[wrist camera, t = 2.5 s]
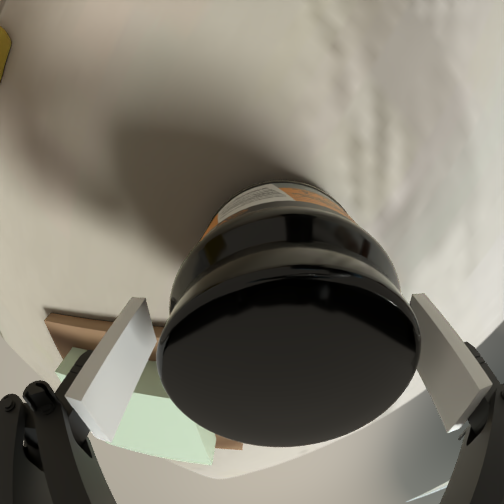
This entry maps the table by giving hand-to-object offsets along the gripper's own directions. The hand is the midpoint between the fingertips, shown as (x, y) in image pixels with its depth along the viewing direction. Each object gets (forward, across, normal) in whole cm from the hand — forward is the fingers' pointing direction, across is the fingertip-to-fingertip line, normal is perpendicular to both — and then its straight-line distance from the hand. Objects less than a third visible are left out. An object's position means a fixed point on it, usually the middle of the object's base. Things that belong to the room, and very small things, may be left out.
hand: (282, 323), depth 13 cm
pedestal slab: (+7, -14, -16) cm, 22 cm away
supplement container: (+8, 0, 0) cm, 8 cm away
